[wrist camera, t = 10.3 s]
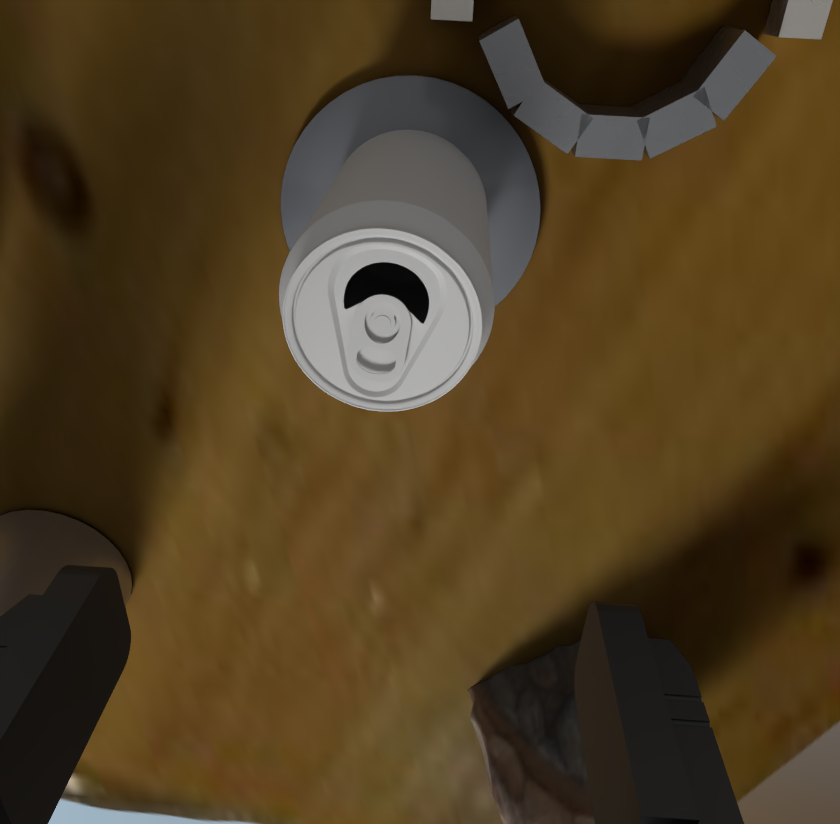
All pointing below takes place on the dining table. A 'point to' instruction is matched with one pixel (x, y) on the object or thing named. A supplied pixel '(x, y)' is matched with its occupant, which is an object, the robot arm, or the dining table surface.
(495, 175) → the coaster
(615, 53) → the dining table surface
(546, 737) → the stone
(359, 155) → the beverage can
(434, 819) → the dining table surface
